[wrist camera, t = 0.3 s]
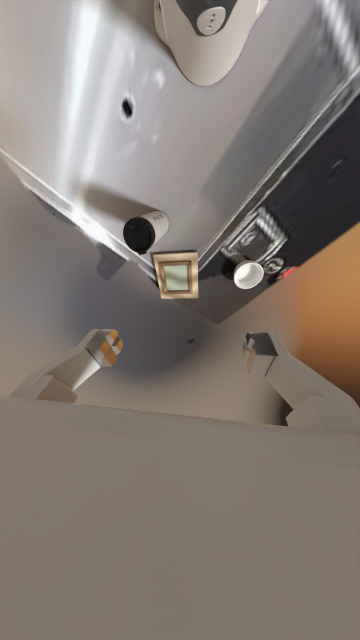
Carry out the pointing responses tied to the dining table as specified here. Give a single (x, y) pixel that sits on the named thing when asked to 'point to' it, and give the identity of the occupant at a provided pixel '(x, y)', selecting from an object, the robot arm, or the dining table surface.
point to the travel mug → (145, 231)
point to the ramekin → (248, 274)
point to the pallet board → (177, 274)
